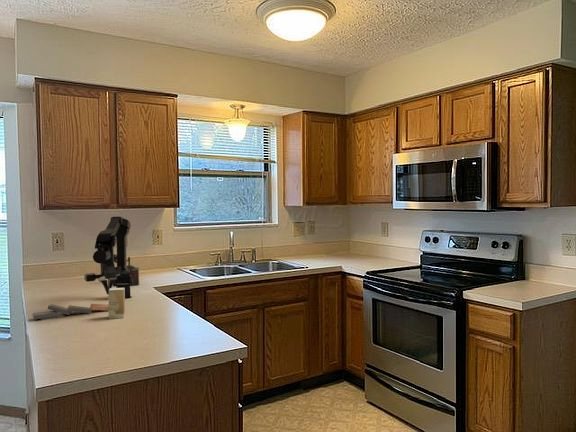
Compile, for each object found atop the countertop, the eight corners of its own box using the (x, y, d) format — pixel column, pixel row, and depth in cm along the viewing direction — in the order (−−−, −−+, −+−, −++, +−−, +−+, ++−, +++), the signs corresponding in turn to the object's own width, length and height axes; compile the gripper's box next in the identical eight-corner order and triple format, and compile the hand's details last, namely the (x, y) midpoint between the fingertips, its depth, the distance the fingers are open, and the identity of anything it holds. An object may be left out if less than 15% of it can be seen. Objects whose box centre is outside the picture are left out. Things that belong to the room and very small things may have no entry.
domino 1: (56, 310, 194) (32, 313, 189) (58, 312, 190) (34, 315, 185) (56, 313, 194) (32, 316, 189) (58, 316, 190) (34, 319, 185)
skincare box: (108, 319, 187) (107, 290, 186) (109, 316, 191) (108, 288, 190) (124, 317, 188) (123, 289, 188) (125, 315, 193) (124, 287, 192)
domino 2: (72, 310, 197) (51, 304, 195) (70, 311, 192) (48, 305, 190) (71, 313, 197) (50, 307, 195) (68, 315, 192) (47, 308, 190)
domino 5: (111, 304, 205) (90, 303, 201) (113, 307, 201) (91, 306, 197) (111, 308, 205) (90, 307, 201) (112, 310, 201) (90, 309, 197)
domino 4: (90, 307, 201) (68, 305, 196) (91, 310, 196) (69, 307, 192) (89, 311, 201) (67, 308, 196) (90, 313, 196) (68, 311, 192)
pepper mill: (139, 282, 270) (139, 252, 270) (138, 285, 260) (137, 255, 259) (112, 283, 266) (111, 254, 266) (110, 287, 256) (109, 256, 255)
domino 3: (64, 313, 195) (40, 316, 191) (64, 315, 191) (40, 318, 186) (64, 316, 195) (41, 319, 191) (64, 319, 191) (40, 322, 186)
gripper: (88, 264, 190) (89, 300, 191) (132, 260, 201) (133, 294, 201) (83, 261, 199) (84, 296, 200) (126, 257, 210) (127, 290, 210)
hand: (108, 294), depth 203 cm, fingers closed
